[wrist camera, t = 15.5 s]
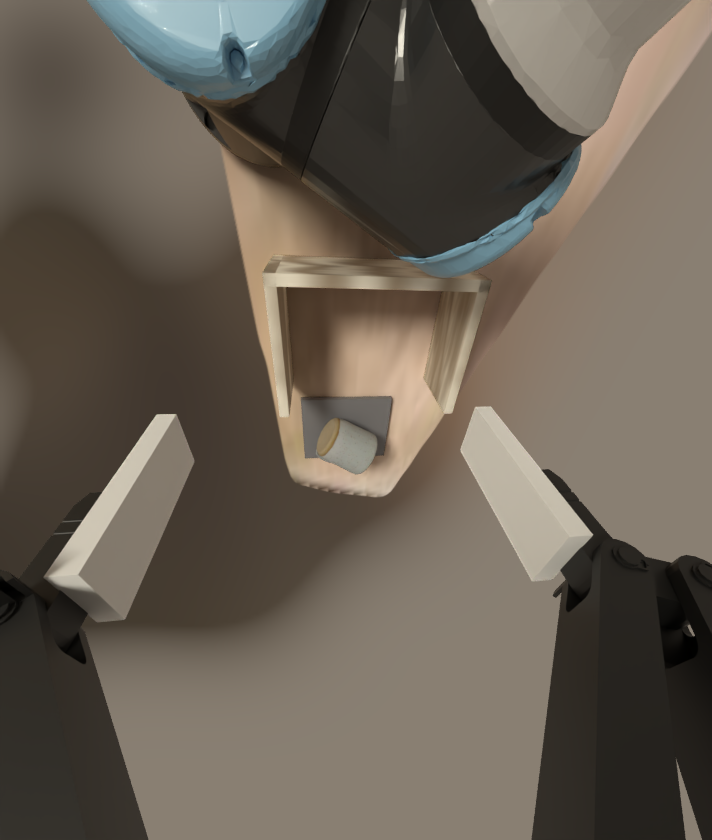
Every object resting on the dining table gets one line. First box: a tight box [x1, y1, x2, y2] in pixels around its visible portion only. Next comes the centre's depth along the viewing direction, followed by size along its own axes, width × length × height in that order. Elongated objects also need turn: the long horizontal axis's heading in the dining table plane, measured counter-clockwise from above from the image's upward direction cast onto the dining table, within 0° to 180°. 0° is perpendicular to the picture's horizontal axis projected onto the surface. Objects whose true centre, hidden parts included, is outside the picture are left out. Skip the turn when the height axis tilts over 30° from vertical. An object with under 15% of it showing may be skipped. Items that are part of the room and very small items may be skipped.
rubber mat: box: [301, 396, 392, 458], centre depth 54 cm, size 15×13×1 cm
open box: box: [262, 255, 492, 417], centre depth 40 cm, size 23×17×10 cm
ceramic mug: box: [316, 418, 377, 474], centre depth 52 cm, size 11×8×8 cm
